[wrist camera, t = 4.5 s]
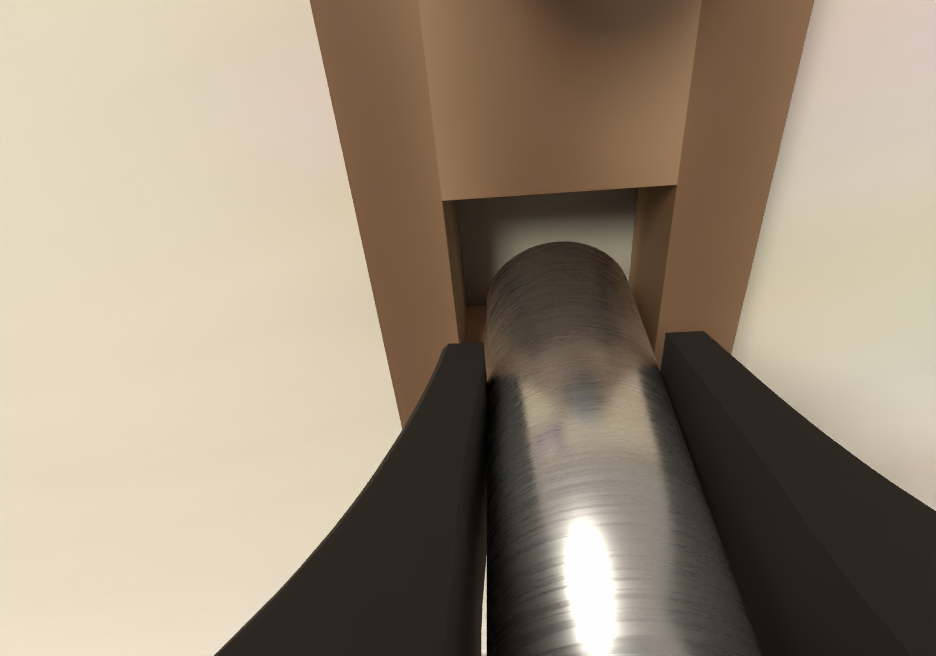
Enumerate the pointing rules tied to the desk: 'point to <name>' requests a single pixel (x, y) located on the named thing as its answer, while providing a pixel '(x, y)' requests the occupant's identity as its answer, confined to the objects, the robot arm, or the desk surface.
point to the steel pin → (593, 478)
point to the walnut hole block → (558, 144)
